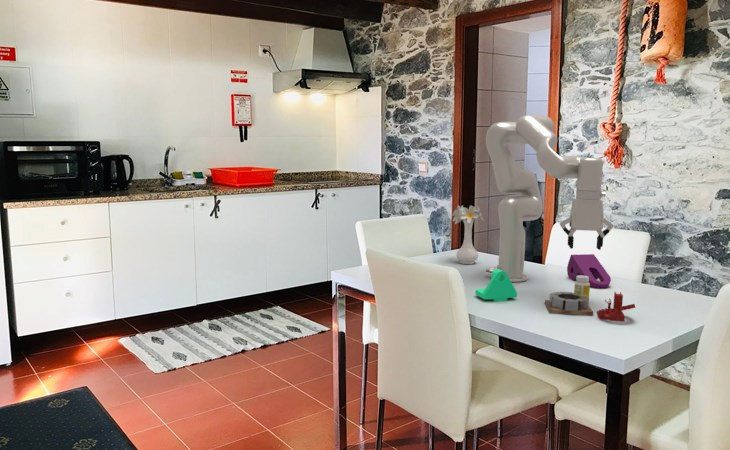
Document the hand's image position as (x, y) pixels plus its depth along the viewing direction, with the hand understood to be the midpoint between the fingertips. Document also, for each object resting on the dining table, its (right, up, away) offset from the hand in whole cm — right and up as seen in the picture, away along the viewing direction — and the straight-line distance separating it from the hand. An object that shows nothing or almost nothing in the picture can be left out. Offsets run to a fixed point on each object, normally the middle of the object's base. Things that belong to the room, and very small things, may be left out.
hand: (584, 248), depth 202 cm
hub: (-8, -18, -7) cm, 21 cm away
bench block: (-8, -19, -7) cm, 22 cm away
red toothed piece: (+3, -21, -15) cm, 26 cm away
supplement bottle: (0, -18, +3) cm, 18 cm away
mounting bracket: (+12, -15, +29) cm, 34 cm away
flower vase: (-29, -9, +61) cm, 68 cm away
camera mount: (-28, -17, +6) cm, 34 cm away
